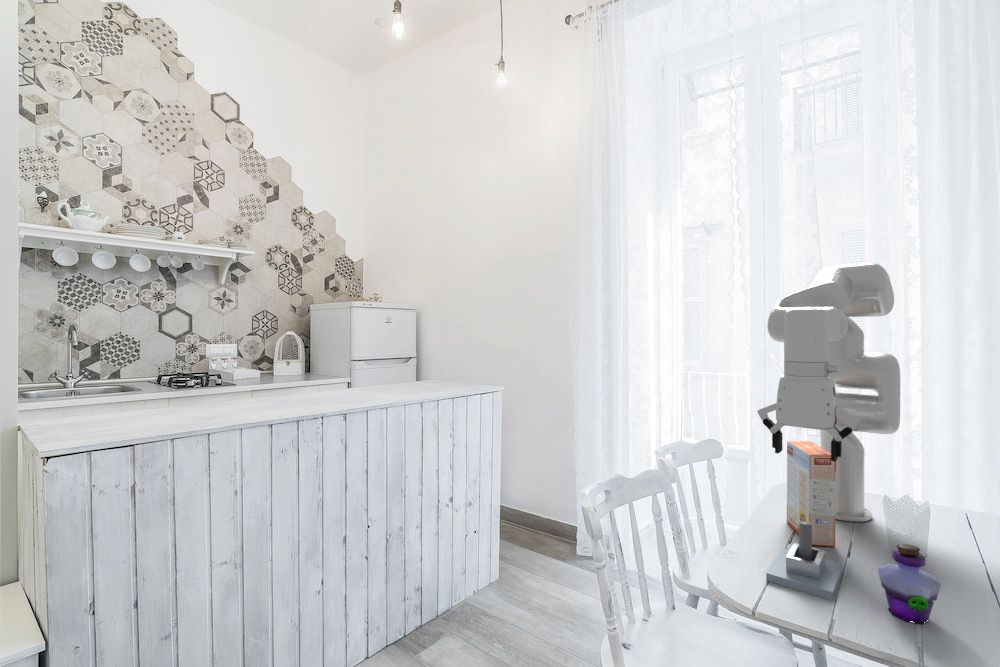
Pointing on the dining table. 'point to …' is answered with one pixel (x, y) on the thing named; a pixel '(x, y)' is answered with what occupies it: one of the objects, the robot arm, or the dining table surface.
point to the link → (805, 563)
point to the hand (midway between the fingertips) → (805, 455)
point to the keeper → (815, 587)
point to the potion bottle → (909, 585)
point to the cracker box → (811, 490)
